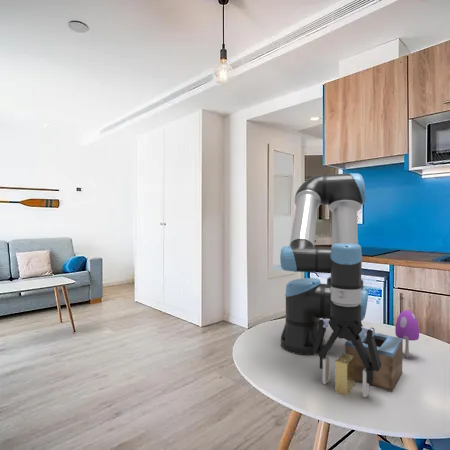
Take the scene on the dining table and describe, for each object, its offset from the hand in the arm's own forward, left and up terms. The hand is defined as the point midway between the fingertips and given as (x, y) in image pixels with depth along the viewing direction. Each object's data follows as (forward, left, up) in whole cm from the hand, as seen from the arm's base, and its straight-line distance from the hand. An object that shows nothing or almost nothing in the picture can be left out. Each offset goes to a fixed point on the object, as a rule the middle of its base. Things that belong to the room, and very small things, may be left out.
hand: (345, 387), depth 84 cm
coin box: (+4, +13, 0) cm, 13 cm away
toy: (+9, +32, 0) cm, 33 cm away
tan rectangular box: (0, 0, 0) cm, 0 cm away
